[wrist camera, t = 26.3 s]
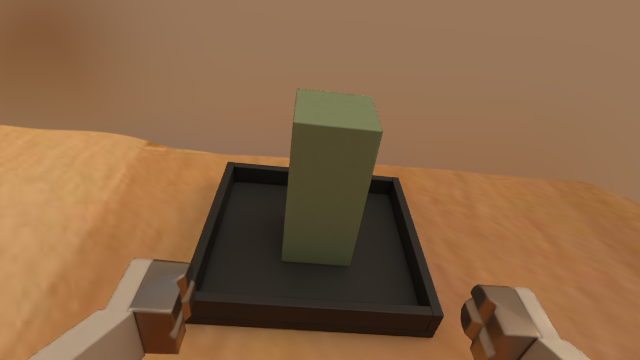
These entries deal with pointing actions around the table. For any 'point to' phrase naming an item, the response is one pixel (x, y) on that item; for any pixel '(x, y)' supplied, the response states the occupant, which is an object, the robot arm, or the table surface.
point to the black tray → (310, 264)
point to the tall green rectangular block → (328, 175)
